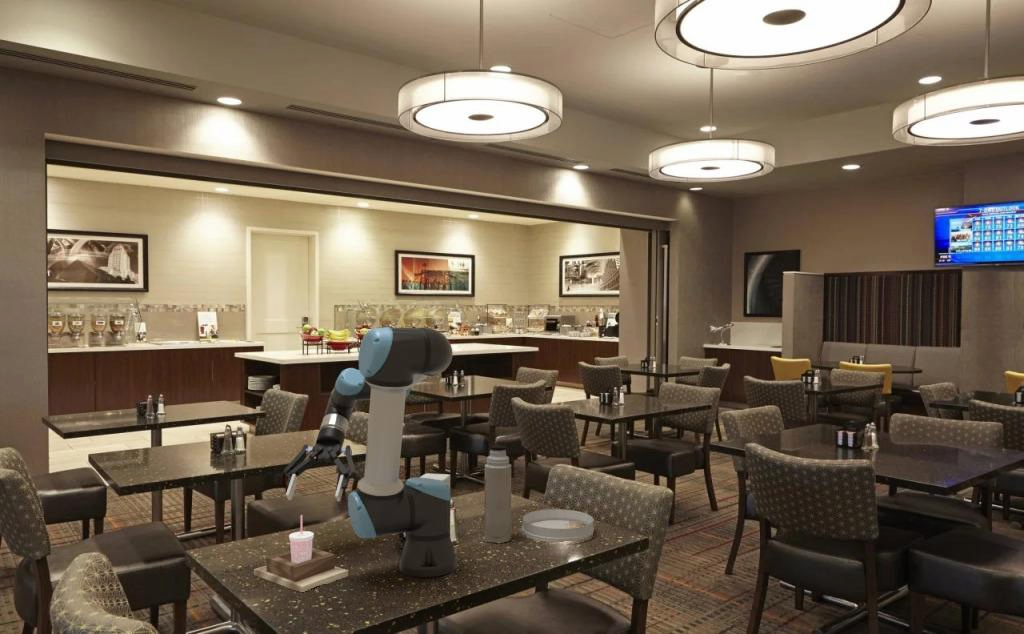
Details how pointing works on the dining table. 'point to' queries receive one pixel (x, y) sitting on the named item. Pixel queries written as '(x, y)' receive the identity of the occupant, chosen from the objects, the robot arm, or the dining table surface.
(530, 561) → the dining table surface
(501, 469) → the thermos bottle
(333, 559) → the collar stand
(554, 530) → the dish
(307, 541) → the beverage cup
